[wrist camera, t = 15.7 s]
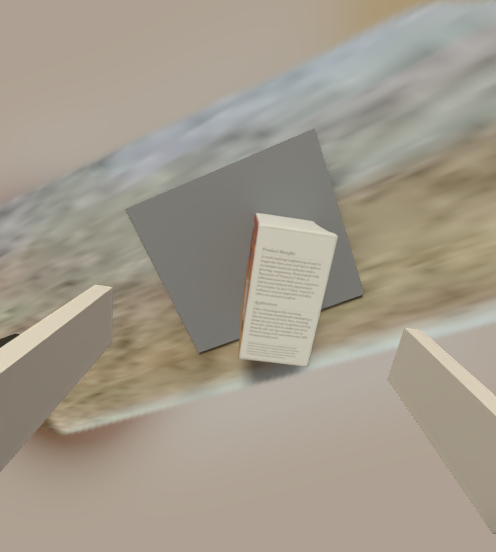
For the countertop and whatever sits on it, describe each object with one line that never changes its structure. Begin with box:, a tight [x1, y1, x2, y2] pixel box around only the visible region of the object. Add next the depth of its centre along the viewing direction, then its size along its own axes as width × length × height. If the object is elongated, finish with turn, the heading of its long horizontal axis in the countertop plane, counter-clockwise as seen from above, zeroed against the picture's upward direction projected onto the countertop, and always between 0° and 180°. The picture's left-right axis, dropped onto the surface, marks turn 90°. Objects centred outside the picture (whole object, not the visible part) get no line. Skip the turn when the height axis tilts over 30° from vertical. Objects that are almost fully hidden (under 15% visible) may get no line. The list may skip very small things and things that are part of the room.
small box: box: [238, 213, 338, 367], centre depth 25 cm, size 8×6×10 cm
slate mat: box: [125, 129, 364, 353], centre depth 29 cm, size 18×16×1 cm
